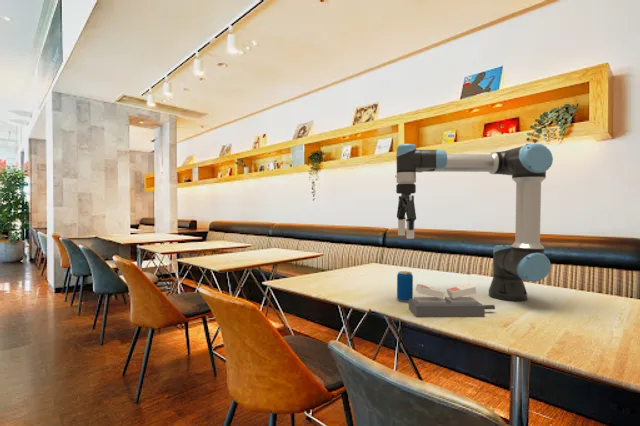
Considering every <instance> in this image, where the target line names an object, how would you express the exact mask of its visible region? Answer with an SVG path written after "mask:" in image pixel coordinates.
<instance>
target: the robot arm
mask: <svg viewBox="0 0 640 426" xmlns="http://www.w3.org/2000/svg"><path fill="white" fill-rule="evenodd" d="M395 155H396V157H395V158H396V175H395V176H394V178H396V183H397V184H396V189H395V193H396V194H401V195H399V196H398V205H397V213H396V218H397V235H398V236H406V239H407V240H409V239H411V240H412V239H415V221H416V220H417V213H416V208H415V207H416V206H415V200H414V199H415V195H412V194H415V193H416V190H417V184H416V182H417V173H424V172H426V173H427V172H431V173H433V172H443V173H444V172H448V173H449V172H453V173H454V172H458V173H459V172H461V173H463V172H465V173H466V172H467V173H468V172H469V173H479V172H481V173H484V172H485V173H487V172H488V173H489V174H491V175H505V176H511V179H512V181H514V182H515V186H516V187H515V193H516V194H515V195H516V196H515V237H514V238H515V239H514V242H513V243H512V244H505V245H504V244H497V245H495V246H494V247H493V251H492V254H493V259H492V260H493V261H492V271H493V272H492V274H493V275H492V280H491V283H490V286H489V288H488V296H489V297H490V298H493V299H497V300H503V301H510V302H523V301H526V300H528V292H527V289H526V287H525V282H524V281H527V282H532V283H533V282H540V281H542V280H543V279H545V278H546V277H547V276H548V275H549V274H550V271H551V267H552V266H551V265H552V264H551V261H550V259H549V258H548V257H547V256H546V255H545V246H543V244H541V211H542V210H541V208H542V207H541V205H542V203H541V202H542V182H543V181H544V180H545V179H547V176H546V175H547V171H548V170H549V169H550V168H551V167H552V165H553V160H554V159H553V158H554V157H553V155H552V152H551V150H550V149H549V148H548V147H547V146H546V145H544V144H542V143H529V144H528V143H527V144H525V145H524V144H523V145H522V146H518V147H514V148H511V149H506V150H501V151H493V152H490V153H487V154H485V153H484V154H481V153H476V154H474V153H469V154H467V153H466V154H465V153H463V154H462V153H461V154H460V153H457V154H454V153H453V154H452V153H451V154H450V153H447V152H446V150H444V149H438V148H437V149H417V145H416V144H414V143H402V144H401V143H400V144H399V145H398V146H397V148H396V154H395Z"/></svg>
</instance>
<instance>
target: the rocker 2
mask: <svg viewBox="0 0 640 426" xmlns="http://www.w3.org/2000/svg"><path fill="white" fill-rule="evenodd" d="M446 293H447V296H448V297H452V298H457V297H468V296H471V295H475V294H477V289H476V286H474V285H472V284H470V283H468V284H463V285H457V286H454V287H449V288H446Z"/></svg>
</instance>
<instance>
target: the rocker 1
mask: <svg viewBox="0 0 640 426" xmlns="http://www.w3.org/2000/svg"><path fill="white" fill-rule="evenodd" d="M415 291H416V292H417V293H418V294H421V295H425V296H428V297H438V298H442V299H444V298H445V292H444V291H443V290H441V288H436V287H433V286H427V285H423V284H419V283H417V284H416V287H415Z"/></svg>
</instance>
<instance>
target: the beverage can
mask: <svg viewBox="0 0 640 426" xmlns="http://www.w3.org/2000/svg"><path fill="white" fill-rule="evenodd" d="M413 280H414V275H413V273H412V272H411V271H406V270H405V271H404V270H403V271H398V272H397V275H396V299H397V300H398V301H399V302H401V303H402V302H403V303H409V299H414V297H413V296H414V295H413V293H414V292H413V291H414V290H413V289H414V288H413V287H414V283H413V282H414V281H413Z"/></svg>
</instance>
